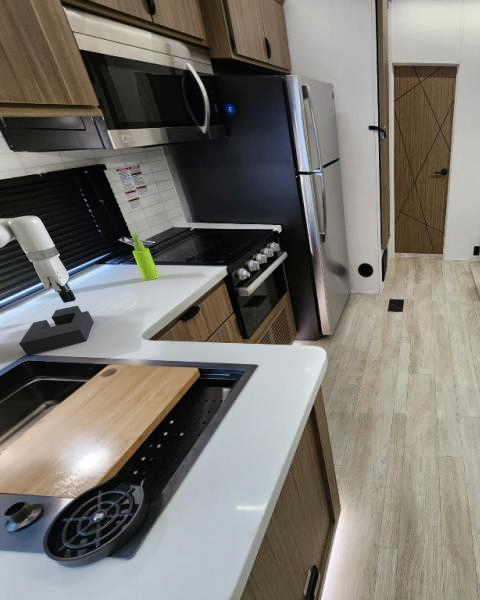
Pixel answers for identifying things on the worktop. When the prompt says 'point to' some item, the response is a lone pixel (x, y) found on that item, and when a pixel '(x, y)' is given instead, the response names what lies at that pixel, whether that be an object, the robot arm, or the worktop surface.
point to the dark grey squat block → (65, 315)
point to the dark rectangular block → (56, 334)
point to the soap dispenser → (144, 260)
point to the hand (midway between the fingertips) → (70, 300)
